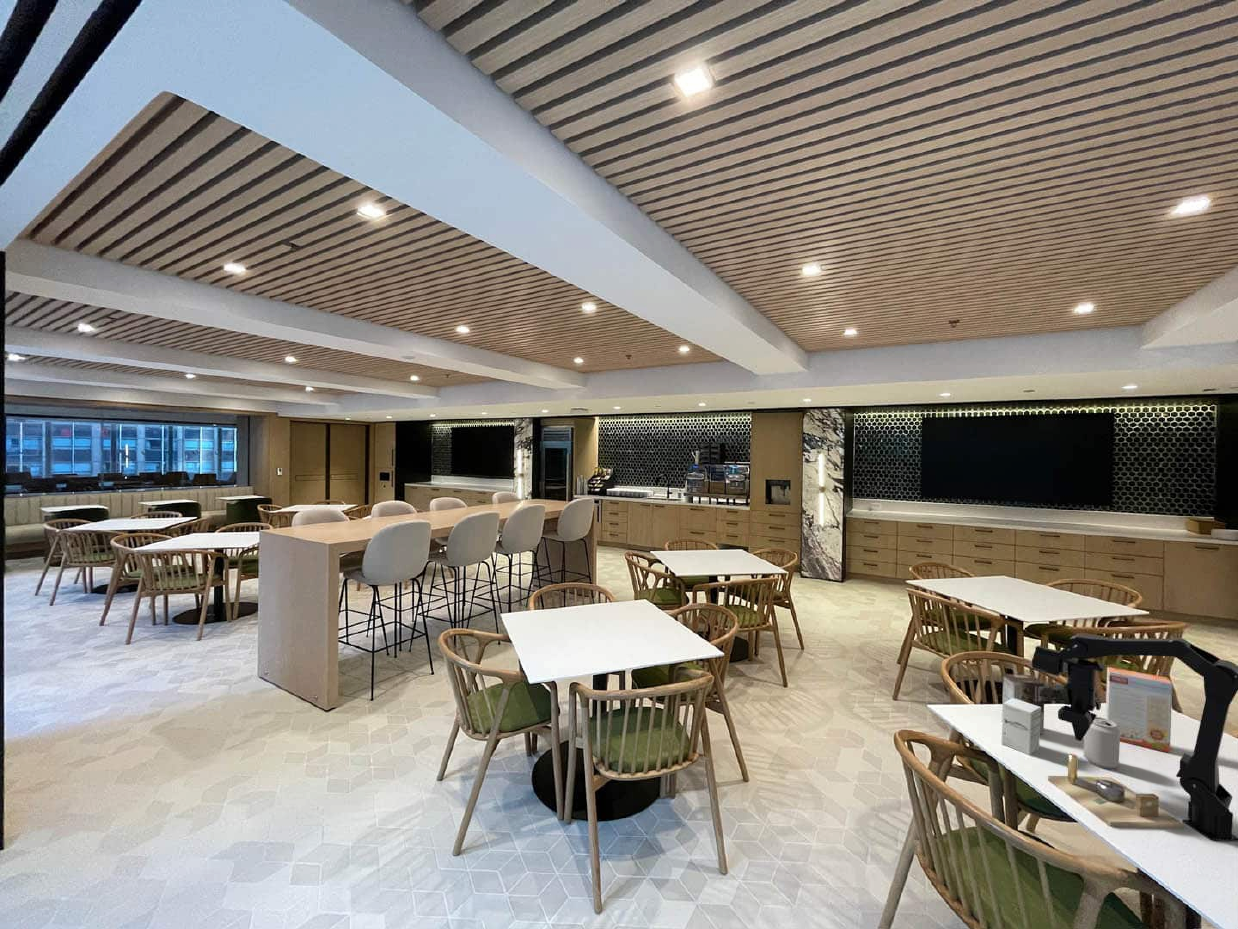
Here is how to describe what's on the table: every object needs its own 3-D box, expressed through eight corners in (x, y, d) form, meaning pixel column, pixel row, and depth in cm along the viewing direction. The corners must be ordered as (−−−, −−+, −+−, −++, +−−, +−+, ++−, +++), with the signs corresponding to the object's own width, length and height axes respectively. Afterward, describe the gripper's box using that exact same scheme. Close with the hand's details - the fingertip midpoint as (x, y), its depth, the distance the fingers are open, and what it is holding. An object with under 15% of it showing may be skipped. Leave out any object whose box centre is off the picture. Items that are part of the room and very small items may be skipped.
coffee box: (1031, 725, 175) (1033, 675, 175) (1044, 735, 168) (1046, 683, 168) (1000, 722, 176) (1002, 672, 176) (1012, 732, 170) (1014, 681, 170)
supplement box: (1000, 744, 162) (1002, 702, 162) (1011, 737, 166) (1012, 696, 166) (1029, 756, 156) (1031, 712, 156) (1040, 748, 160) (1041, 706, 160)
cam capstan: (1125, 797, 135) (1127, 769, 135) (1122, 805, 132) (1124, 777, 132) (1069, 777, 143) (1070, 751, 143) (1065, 784, 140) (1066, 757, 140)
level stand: (1182, 828, 126) (1183, 802, 126) (1110, 826, 126) (1111, 801, 126) (1110, 781, 144) (1111, 759, 144) (1047, 780, 144) (1048, 758, 144)
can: (1125, 772, 149) (1127, 729, 149) (1094, 768, 151) (1095, 725, 150) (1106, 757, 156) (1108, 716, 156) (1077, 754, 158) (1078, 713, 158)
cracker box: (1166, 745, 164) (1169, 677, 164) (1170, 754, 159) (1173, 683, 159) (1104, 730, 172) (1107, 665, 172) (1106, 738, 168) (1109, 671, 167)
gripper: (1051, 664, 157) (1049, 718, 157) (1034, 681, 144) (1032, 739, 145) (1102, 677, 148) (1100, 733, 148) (1089, 695, 136) (1087, 757, 136)
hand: (1078, 740), depth 145 cm, fingers closed
